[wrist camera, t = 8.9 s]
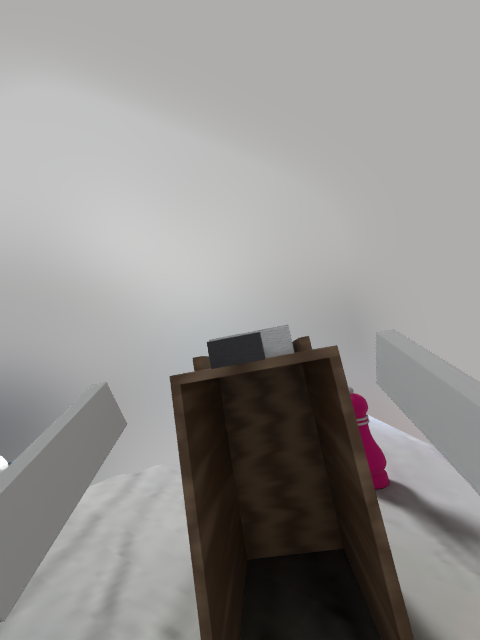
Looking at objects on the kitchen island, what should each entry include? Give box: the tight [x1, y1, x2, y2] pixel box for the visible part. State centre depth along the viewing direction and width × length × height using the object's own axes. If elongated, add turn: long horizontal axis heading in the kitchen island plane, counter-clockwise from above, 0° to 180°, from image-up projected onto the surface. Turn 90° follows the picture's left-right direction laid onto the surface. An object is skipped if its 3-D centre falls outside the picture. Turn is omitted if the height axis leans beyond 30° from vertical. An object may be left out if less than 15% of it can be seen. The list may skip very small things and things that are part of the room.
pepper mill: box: [348, 387, 389, 489], centre depth 50 cm, size 7×7×20 cm
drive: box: [207, 325, 294, 369], centre depth 27 cm, size 10×30×4 cm, turn 173°
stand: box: [170, 336, 414, 640], centre depth 29 cm, size 17×20×32 cm
